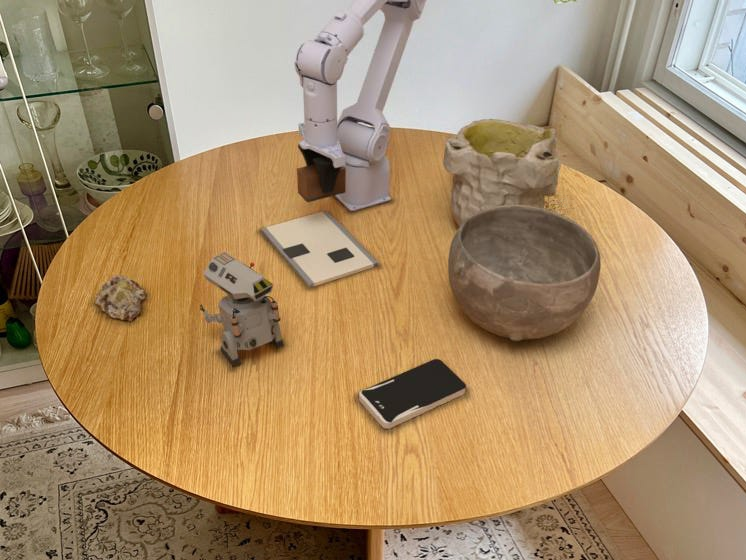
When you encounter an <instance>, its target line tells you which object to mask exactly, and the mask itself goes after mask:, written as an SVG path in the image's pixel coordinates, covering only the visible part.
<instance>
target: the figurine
mask: <svg viewBox="0 0 746 560" xmlns="http://www.w3.org/2000/svg"><path fill="white" fill-rule="evenodd" d="M254 266H255V263H254V262H250V263H249V266H248V265H247V264H245V263H243V262H242V261H240V260H238V259H237V258H236V257H234V256H232V255H230V254H229V253H227V252H225V251H223V252H222V253H219V254H218V255H216V256H214V257H212V258H211V260H210V261H209V263H208V265H207V267H206V268H205V270H204V272H203V276H204V278H205V280H206V281H208V282H209V283H211V284H212V285H214V286H215V287H216V288H218V289H220V290H221V291H222V292H224V293H225V294H226V296H224V297H222V298H221V300H220V301H219V302H218V310H219V314H218V313H215V314H209V313H208V311H206V309H204V306H203V304H200V305H199V310H200V311H202V312H203V314H204V316H205V317H204V320H205V321H204V322H206V323H207V324H210V323H211V322H212V323H218V324H222V328H223V332H221V333H220V344H221V345H220V352H221V353H222V355H223V356H224V357H225V358H226V359H227V361H228V363H230V364H231V366H232V367H236V366H238V365H241V361H240V357H239V354H238V351H239V350H240V351H251V350H254V349H256V348H258V347H261V346H263V345H266V344H268V343H270V342H271V343H272V345H273V346H274V347H275V348H276V349H279V348H281V347H283V346H284V340H283V338H282V332H281V331H282V330H281V326H280V322H281V317H280V311H279V304H278V301H277V300H275V299H274V298H273V297H272V296H269V294H271V293H272V292H273V289H274V284H273V283H272V282H271V281H269V279H267V278H265V276H264V275H262V274H260V273H258V272H257V271H256V270H254V269H253V267H254Z"/></svg>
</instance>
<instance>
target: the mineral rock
mask: <svg viewBox="0 0 746 560" xmlns="http://www.w3.org/2000/svg"><path fill="white" fill-rule="evenodd" d="M146 295H147V293H146V292H145V289H142V288H141V287H140V284H139V282H138V281H134V279H130V278H129V277H127V276H124V275H122V274H115V275H114V276H112V277H111V278H110V279H109V280H106V281H105V282H104V284H103V285H102V286H101V288H100V289H99V293H98V294H97V295H96V296H95V299H96V300H95V302H94V303H95V304H96V305H97V306H98V307H100V309H101V311H103V312H104V314H107V315H108V316H109V317H111V318H112V319H119V320H121V321H125V320H127V321H128V322H132V321H134V318H136V317H138V316H139V315H140V314H141V311H142V306H141V303H142V301H144V300H145V299H146Z"/></svg>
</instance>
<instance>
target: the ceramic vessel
mask: <svg viewBox="0 0 746 560" xmlns="http://www.w3.org/2000/svg"><path fill="white" fill-rule="evenodd" d="M557 143H558V137H557V136H556V129H555V128H554V127H552V128H546V129H545V127H541V126H538V125H534V124H529V123H526V124H524V125H523V124H520V123H516V122H511V121H509V120H503V119H497V118H487V119H486V118H484V119H479V120H474V121H473V120H472V122H471V123H469V124H467V125H464V126H463V127H461V128H460V130H459V131H458V132H457V134H456V137H448V138H447V139H445V141H444V152H443V153H444V154H443V159H442V164H443V168H444V170H445V171H446V172H447V173H450V174H451V175H453V179H452V187H451V190H450V193H451V194H450V195H451V198H450V210H451V214H452V218H453V219H454V221H455V223H456V224H457V226H458V228H459V227H460V226H461V224H462V223H463V221H464V220H465V219H466V218H467V217H469V216H471V215H472V214H474V213H477V212H479V211H482V210H486V209H489V208H493V207H497V206H503V205H526V206H533V207H539V208H543V209H545V202H546V201H545V197H554V196H556V194H557V190H556V189H557V187H558V185H559V173H560V169H561V167H562V161H561V158H560V156H559V153H558V151H557V148H556V147H557Z"/></svg>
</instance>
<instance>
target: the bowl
mask: <svg viewBox="0 0 746 560" xmlns="http://www.w3.org/2000/svg"><path fill="white" fill-rule="evenodd" d="M601 260H602V259H601V254H600V250H599V247H598V245H597V243H596V241H595V240H594V238H593V236H592V235H591V234H590V233H589V232H588V230H587V229H585V228H584V227H582V225H581V224H579V223H578V222H576V221H575V220H573V219H571V218H569V217H567V216H565V215H563V214H561V213H558V212H556V211H553V210H550V209H546V208H539V207H533V206H526V205H503V206H497V207H493V208H489V209H486V210H482V211H479V212H477V213H474V214H472V215H471V216H469V217H467V218H466V219H465V220H464V221H463V223H462V224H461V226H460V227H459V226H458V229H457V230H456V232H455V234H454V235H453V237H452V240H451V242H450V246H449V251H448V260H447V269H448V270H447V271H448V282H449V286H450V290H451V293H452V295H453V297H454V299H455V301H456V302H457V303H456V304H458V306H459V307H460V309H461V311H462V312H463V313H464V314H465V316H467V317H468V319H470V320H471V321H472V322H473V323H474V324H475V325H477V326H479V327H480V328H482V329H483V330H486V331H487V332H490V333H492V334H493V335H496V336H499V337H502V338H506V339H509V340H511V341H515V342H519V341H522V340H535V339H541V338H545V337H549V336H552V335H555V334H557V333H559V332H561V331H562V330H564V329H566V328H567V327H570V326H571V325H572V324H574V323H575V322H576V321H577V320H578V319H580V318H581V316H582V315H583V314H584V313H585V311H586V310H587V309H588V307H589V306H590V303H591V302H592V300H593V298H594V296H595V293H596V290H597V288H598V285H599V280H600V274H601V266H602V265H601V264H602V263H601Z"/></svg>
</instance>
